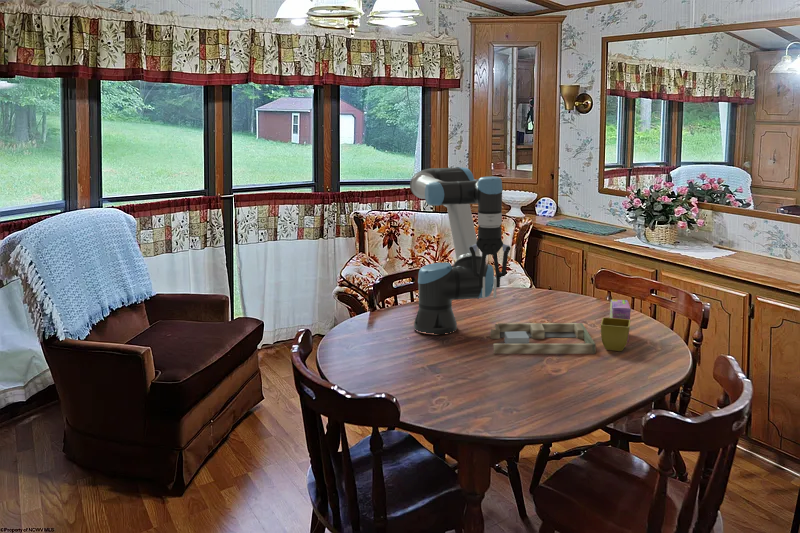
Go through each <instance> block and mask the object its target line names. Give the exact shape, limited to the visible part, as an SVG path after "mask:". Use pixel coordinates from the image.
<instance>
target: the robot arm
mask: <svg viewBox="0 0 800 533" xmlns="http://www.w3.org/2000/svg"><path fill="white" fill-rule="evenodd" d="M409 188H410V191H411V194H413V196H415V197H417V198H419V199H421V200H425V202H426V204H427V205H428V206H438V207H439V206H444V207H446V209H447V215H448V220H449V226H450V231H451V236H452V240H453V246H454V247H453V248H454V252H455V258H456V260H455V261H454V262H453V265H452V264H451V263H450V262H444V261H443V262H433V263H432V262H431V263H430V264H429V263H428V264H426V265H423V266H422V267H421V268H420V269H419V271H418V278H417V284H418V310H417V314H416V316H415V320H414V324H413V327H414V328H415V329H416V330H418V331H421V332H426V333H434V334H445V333H450V332H453V331H455V330H456V329H458V324H457V320H456V317H455V314H454V311H453V305H452V304H453V303H452V302H453V301H456V300H475V299H477V300H479V299H486V298H488V297H490V296H491V294H492V293H493V299H497V289H498V288H499V289H500V287H501V278H503V277H506V275H507V268H508V267H507V266H508V257H509V253H510V250H511V246H510V245H509V244H505V243H504V242H503V240H502V236H503V234H502V231H503V229H502V228H503V227H502V226H501V225H502V224H503V223H502V220H503V218H502V217H503V216H502V214H503V207H502V206H503V189H504V188H503V181H502V178H501V177H499V176H481V177H480V178H478V179H477V178H476V179H475V178H474V174H473V172H472V171H471V170H470V169H469V168H468V167H461V166H456V167H441V168H440V167H435V168H434V167H431V168H425V169H422V170H420V171H418V172H416V173H415V174H414V175H413V176H412V177H411V179H410V182H409ZM475 204H476V205H477V224H478V227H477V233H476V227H475V225H474V219H473V214H472V209H471V205H475ZM501 248H502V251H503V254H502V265H501V271H500V265H499V260H498V252H499V251H500V250H501ZM480 252H481V253H480ZM489 255H490V256H492V257H493V264H494V267H493V265H492V264H489V263H488V264H487V256H489ZM494 270H495V271H494ZM414 328H413V329H414ZM456 331H457V330H456ZM456 331H455V332H456ZM453 333H454V332H453ZM450 334H451V333H450Z"/></svg>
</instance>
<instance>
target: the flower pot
mask: <svg viewBox="0 0 800 533" xmlns="http://www.w3.org/2000/svg"><path fill="white" fill-rule="evenodd" d="M630 326H631V319H630V320H628V319H617V318H610V317H602V319H601V322H600V333H601V336H600V337H601V343H602V346H603V347H604V349H605V350H607V351H614V352H615V351H617V352H623V350H624V349H625V347H626V345H627V343H628V342H627V340H628V334H629V335H630Z"/></svg>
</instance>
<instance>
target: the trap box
mask: <svg viewBox="0 0 800 533" xmlns="http://www.w3.org/2000/svg"><path fill="white" fill-rule="evenodd" d="M494 325H495V327H494V328H495V329H490V339H491V340H492V339H493V340H494V339H495V340H496V339H497V340H499V339H503V338H504V339H505V332H514V331H526V333H527V335H528V336H529V339H534V340H535V339H536V340H539V339H540V340H542V339H543V340H544V339H547V338H548V339H553V338H554V339H559V338H560V339H562V338H563V339H564V338H566V339H567V338H568V339H570V338H572V339H575V338H576V339H577V340H579V339H582V340H583V341H584V342H585V343H529V344H505V343H493V354H494V355H495V354H496V355H497V354H498V355H499V354H501V355H502V354H504V355H505V354H510V355H511V354H512V355H513V354H528V355H529V354H542V355H543V354H546V355H547V354H555V355H556V354H557V355H559V354H560V355H561V354H563V355H565V354H571V355H572V354H574V355H575V354H576V355H577V354H580V355H581V354H582V355H584V354H585V355H586V354H587V355H588V354H596V350H597V349H596V348H597V345H596V343H595V341H594V340H593V338H592V337H591V335H590V333H589V331H588V330H587V328H586V327H585V325H584V323H583V322H579V323H577V322H574V323H573V322H560V323H559V322H558V323H557V322H556V323H555V322H553V323H551V322H549V323H548V322H546V323H545V322H543V323H542V322H540V323H539V322H536V323H535V322H531V323H530V322H528V323H527V322H526V323H525V322H520V323H518V322H516V323H515V322H512V323H511V322H509V323H508V322H507V323H505V322H500V323H499V322H498V323H495V324H494Z"/></svg>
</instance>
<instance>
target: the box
mask: <svg viewBox="0 0 800 533" xmlns="http://www.w3.org/2000/svg"><path fill="white" fill-rule="evenodd" d="M609 304H610V307H609V318H617V319H628V320H630V321H631V306H630V303H629V300H627V299H610V303H609ZM629 337H630V333H629V334H628V340H627V343H629V339H630V338H629Z"/></svg>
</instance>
